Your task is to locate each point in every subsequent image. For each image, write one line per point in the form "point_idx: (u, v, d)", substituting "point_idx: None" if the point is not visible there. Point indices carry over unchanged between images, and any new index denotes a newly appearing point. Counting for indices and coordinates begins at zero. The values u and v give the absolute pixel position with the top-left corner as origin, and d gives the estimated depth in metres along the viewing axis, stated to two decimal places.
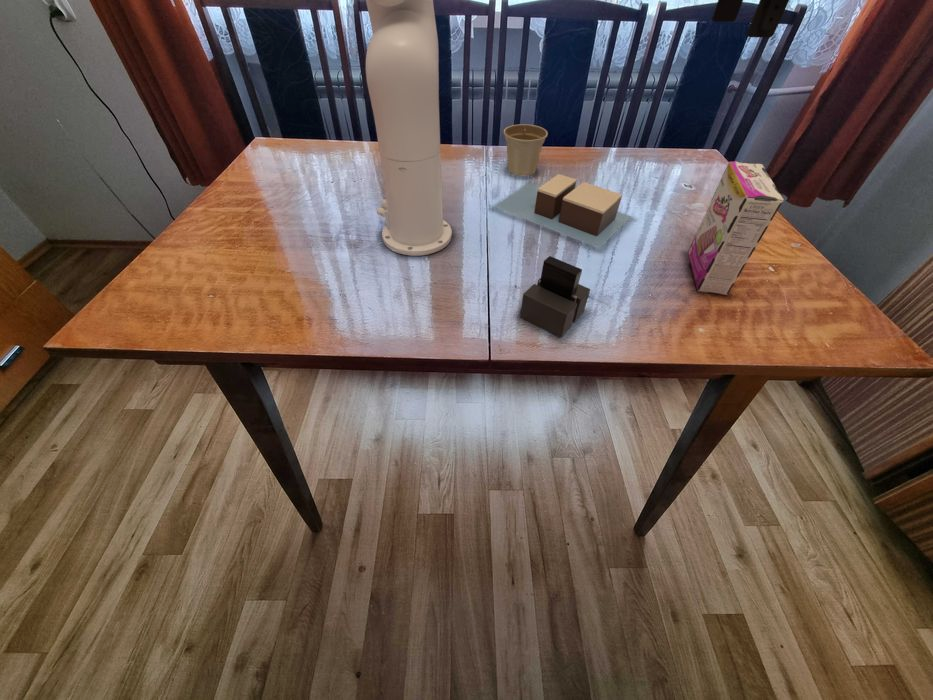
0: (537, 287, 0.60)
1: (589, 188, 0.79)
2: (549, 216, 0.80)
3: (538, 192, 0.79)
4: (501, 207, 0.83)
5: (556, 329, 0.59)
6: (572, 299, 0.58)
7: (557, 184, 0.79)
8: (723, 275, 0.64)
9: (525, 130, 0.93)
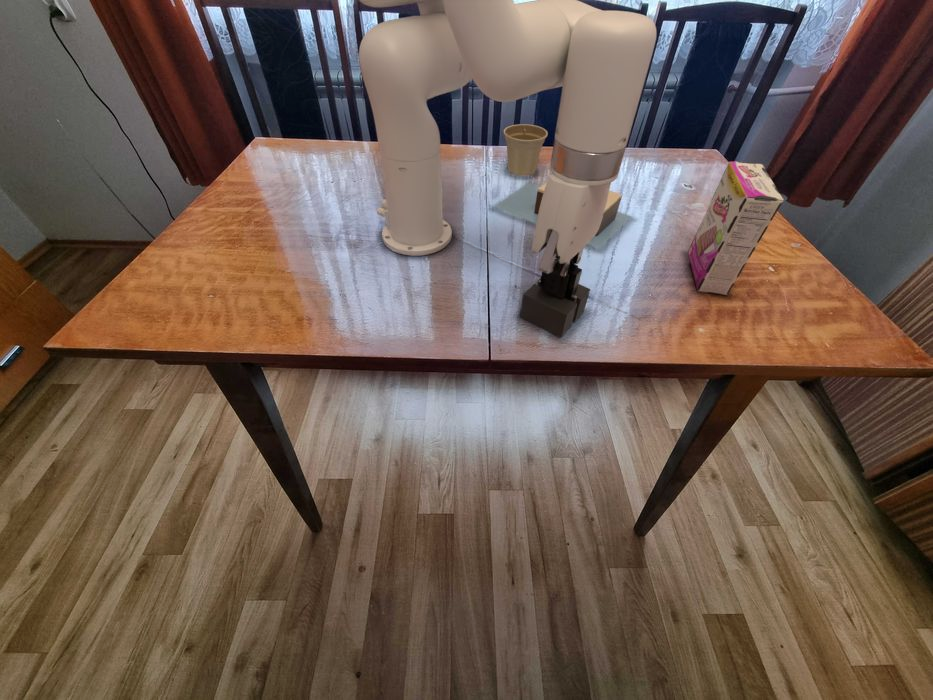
0: (537, 287, 0.60)
1: None
2: None
3: (538, 192, 0.79)
4: (501, 207, 0.83)
5: (556, 329, 0.59)
6: (572, 299, 0.58)
7: None
8: (723, 275, 0.64)
9: (525, 130, 0.93)
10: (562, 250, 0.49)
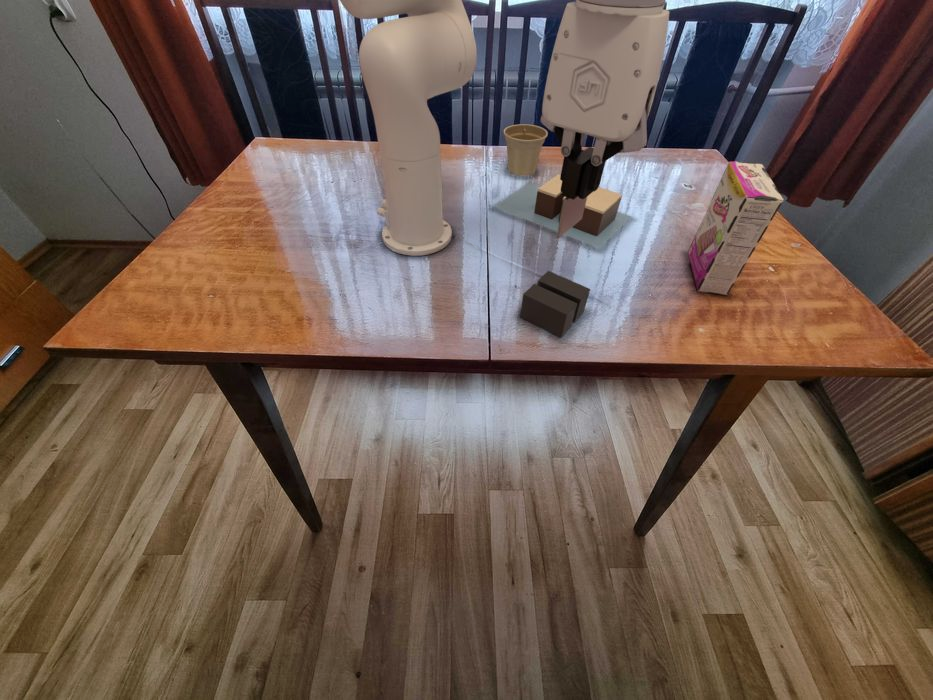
0: (537, 287, 0.60)
1: None
2: (549, 216, 0.80)
3: (538, 192, 0.79)
4: (501, 207, 0.83)
5: (556, 329, 0.59)
6: None
7: (557, 184, 0.79)
8: (723, 275, 0.64)
9: (525, 130, 0.93)
10: None
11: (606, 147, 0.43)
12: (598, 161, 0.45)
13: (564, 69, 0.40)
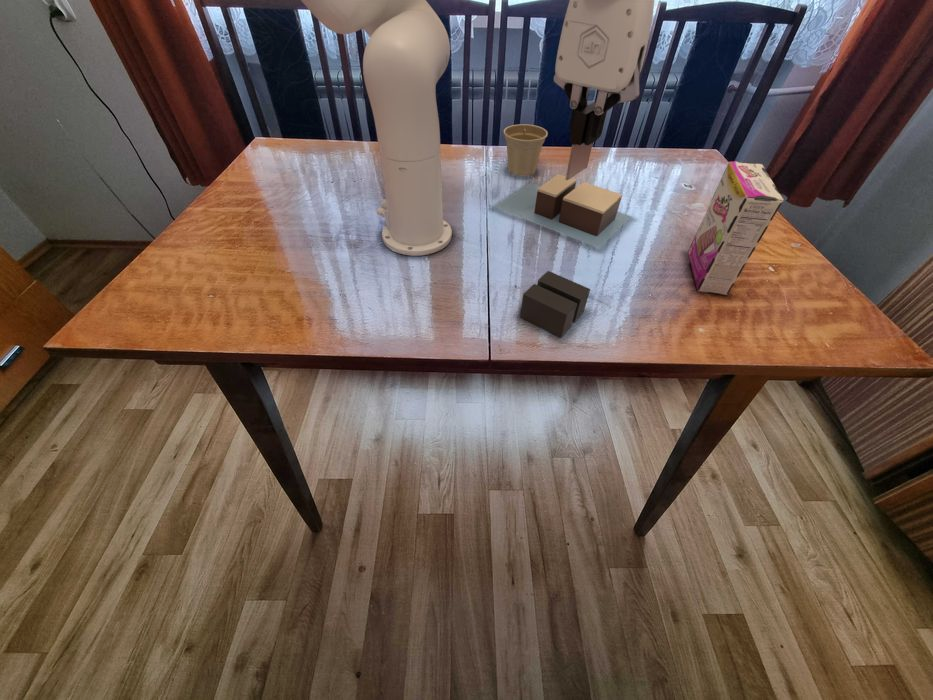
0: (537, 287, 0.60)
1: (589, 188, 0.79)
2: (549, 216, 0.80)
3: (538, 192, 0.79)
4: (501, 207, 0.83)
5: (556, 329, 0.59)
6: None
7: (557, 184, 0.79)
8: (723, 275, 0.64)
9: (525, 130, 0.93)
10: (642, 64, 0.51)
11: (606, 98, 0.54)
12: (600, 111, 0.55)
13: (573, 33, 0.51)
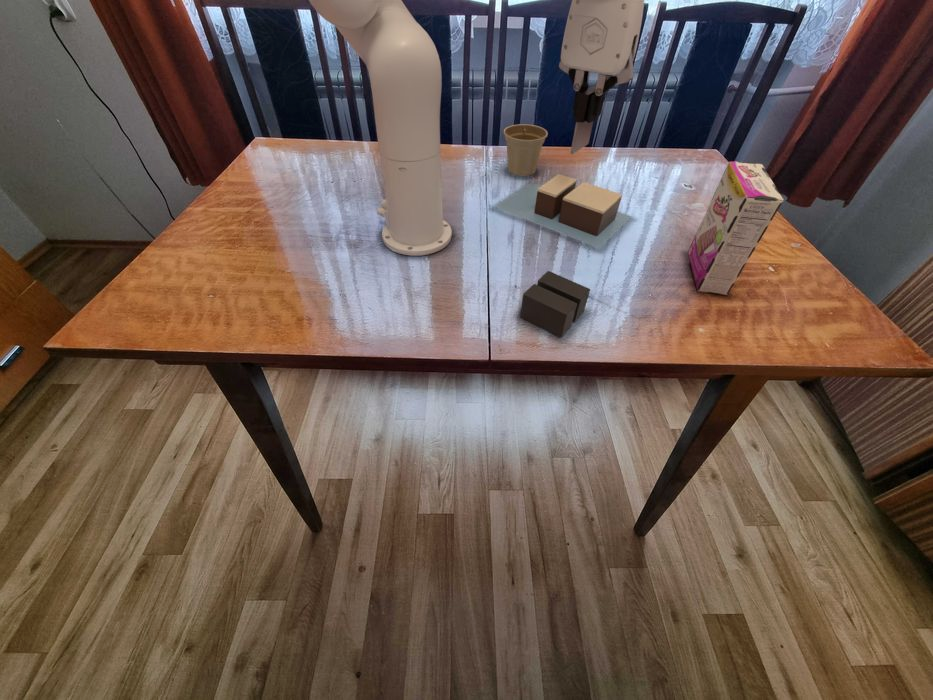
0: (537, 287, 0.60)
1: (589, 188, 0.79)
2: (549, 216, 0.80)
3: (538, 192, 0.79)
4: (501, 207, 0.83)
5: (556, 329, 0.59)
6: None
7: (557, 184, 0.79)
8: (723, 275, 0.64)
9: (525, 130, 0.93)
10: (635, 50, 0.60)
11: (605, 81, 0.63)
12: (600, 92, 0.64)
13: (576, 25, 0.60)
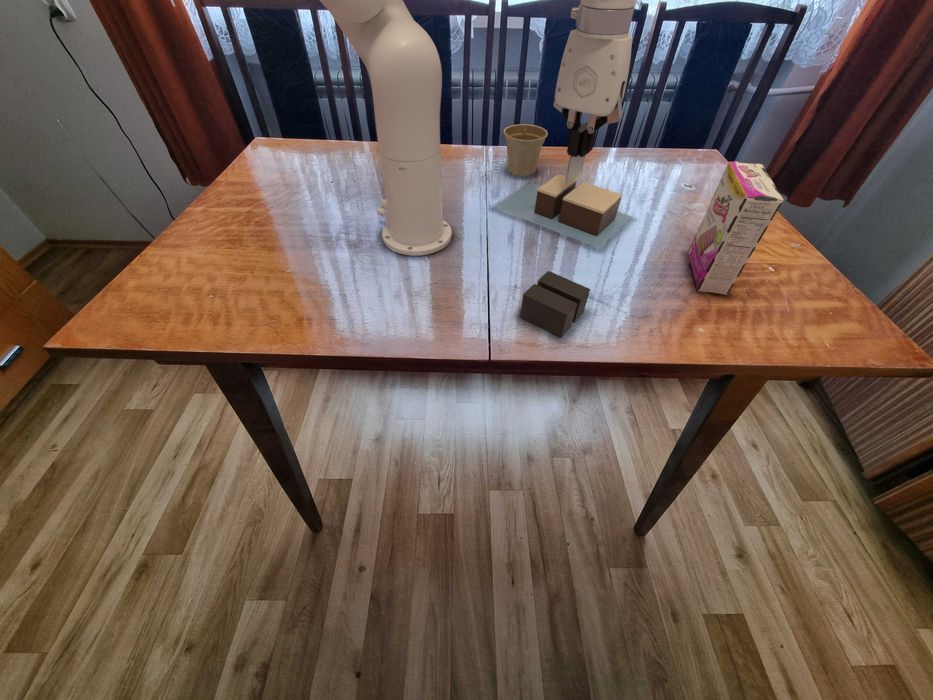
0: (537, 287, 0.60)
1: (589, 188, 0.79)
2: (549, 216, 0.80)
3: (538, 192, 0.79)
4: (501, 207, 0.83)
5: (556, 329, 0.59)
6: None
7: (557, 184, 0.79)
8: (723, 275, 0.64)
9: (525, 130, 0.93)
10: None
11: (596, 120, 0.68)
12: (591, 130, 0.69)
13: (569, 71, 0.64)
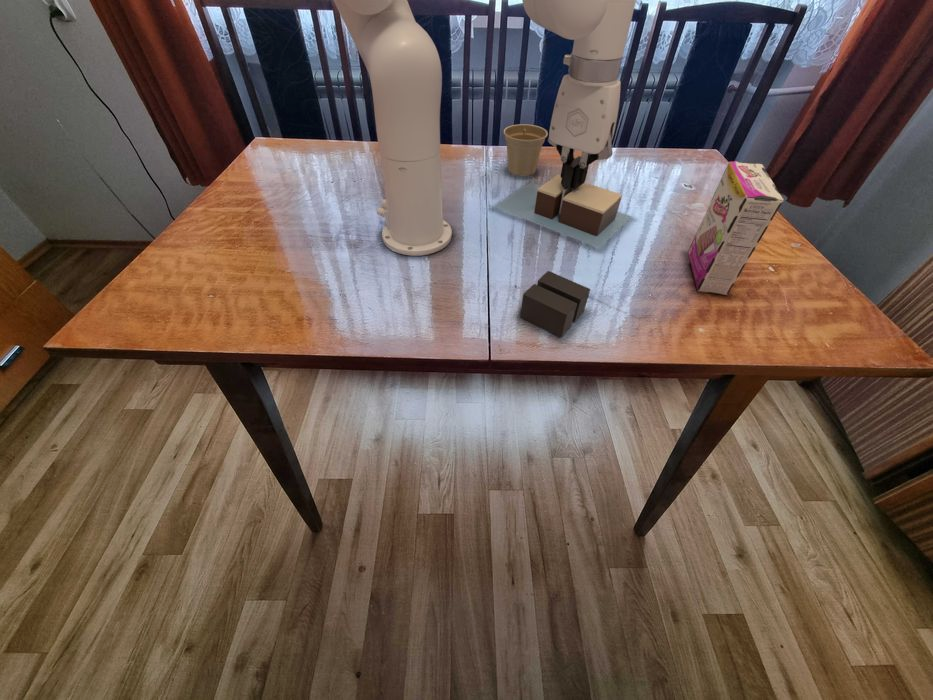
0: (537, 287, 0.60)
1: (589, 188, 0.79)
2: (549, 216, 0.80)
3: (538, 192, 0.79)
4: (501, 207, 0.83)
5: (556, 329, 0.59)
6: None
7: (557, 184, 0.79)
8: (723, 275, 0.64)
9: (525, 130, 0.93)
10: (613, 133, 0.70)
11: (588, 157, 0.72)
12: (584, 165, 0.73)
13: (562, 112, 0.69)
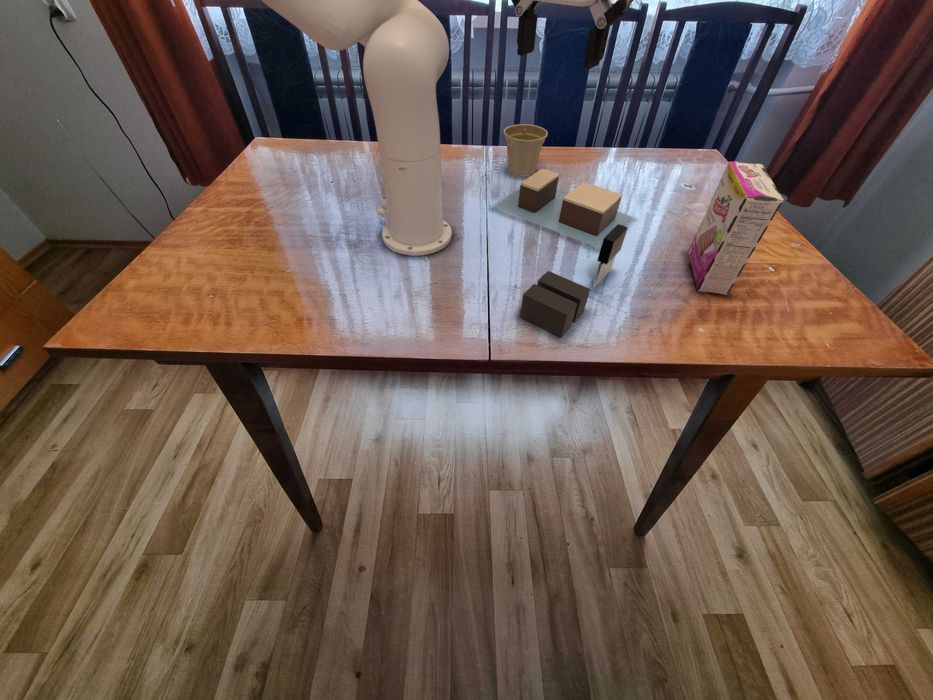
0: (537, 287, 0.60)
1: (589, 188, 0.79)
2: (532, 210, 0.82)
3: (521, 186, 0.80)
4: (501, 207, 0.83)
5: (556, 329, 0.59)
6: None
7: (539, 178, 0.81)
8: (723, 275, 0.64)
9: (525, 130, 0.93)
10: None
11: (601, 5, 0.47)
12: (603, 21, 0.47)
13: None
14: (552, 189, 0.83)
